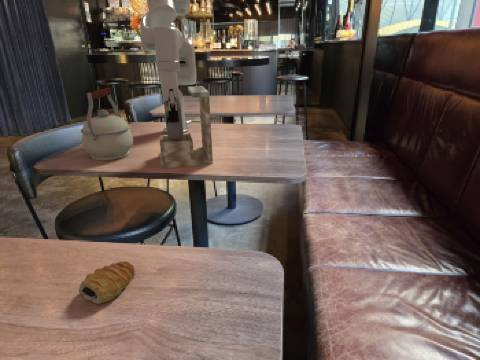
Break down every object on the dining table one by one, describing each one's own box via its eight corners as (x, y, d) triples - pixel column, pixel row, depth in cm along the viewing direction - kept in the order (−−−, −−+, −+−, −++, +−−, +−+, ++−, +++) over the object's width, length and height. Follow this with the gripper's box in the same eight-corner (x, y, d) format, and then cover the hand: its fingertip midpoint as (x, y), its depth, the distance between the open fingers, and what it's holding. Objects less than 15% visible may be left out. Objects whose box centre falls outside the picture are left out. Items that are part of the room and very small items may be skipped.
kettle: (122, 164, 114) (110, 93, 104) (73, 164, 115) (56, 94, 105) (145, 144, 137) (137, 85, 127) (104, 144, 138) (93, 85, 128)
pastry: (118, 265, 61) (115, 249, 60) (145, 275, 58) (142, 258, 57) (76, 297, 53) (71, 279, 52) (104, 310, 51) (100, 292, 49)
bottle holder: (160, 168, 109) (151, 94, 99) (160, 153, 125) (153, 88, 116) (212, 163, 113) (209, 92, 103) (206, 149, 129) (202, 86, 119)
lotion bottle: (178, 134, 119) (173, 79, 111) (186, 137, 115) (181, 80, 107) (164, 137, 116) (158, 80, 108) (172, 140, 112) (166, 81, 104)
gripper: (157, 66, 113) (163, 116, 120) (156, 68, 97) (163, 126, 104) (178, 65, 114) (182, 115, 121) (181, 67, 99) (186, 124, 106)
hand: (173, 119), depth 113 cm, fingers closed on lotion bottle, 5 cm apart
